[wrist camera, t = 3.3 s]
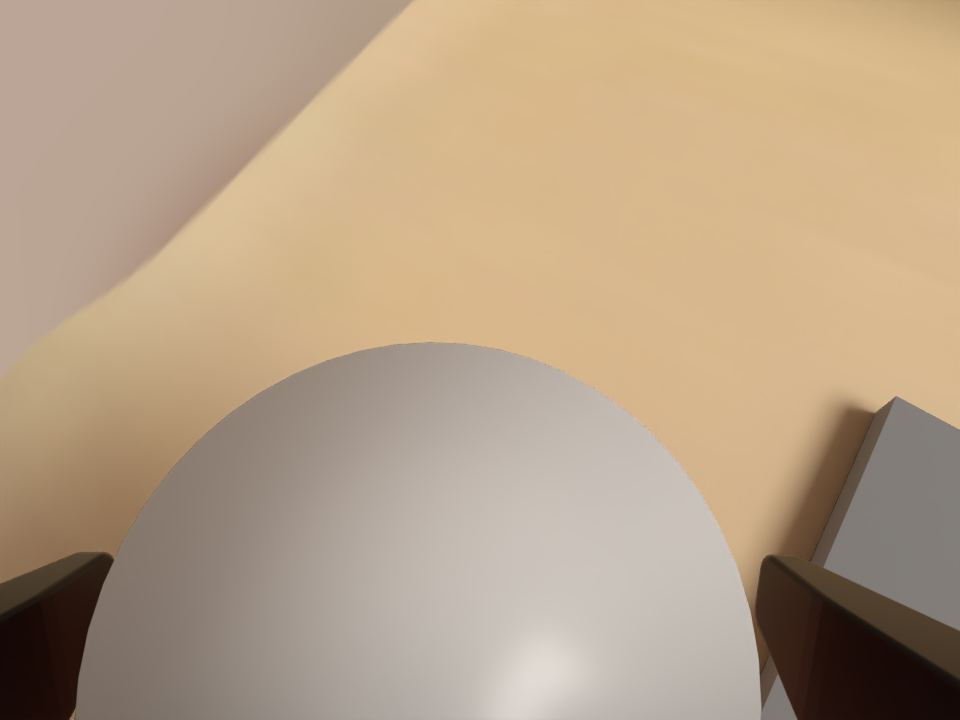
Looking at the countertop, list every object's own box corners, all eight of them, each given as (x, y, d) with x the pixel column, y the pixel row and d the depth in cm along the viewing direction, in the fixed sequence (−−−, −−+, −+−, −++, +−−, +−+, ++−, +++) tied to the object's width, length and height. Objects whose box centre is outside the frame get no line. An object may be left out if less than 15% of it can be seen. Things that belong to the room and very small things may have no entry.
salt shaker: (472, 903, 12) (513, 1399, 3) (287, 730, 14) (-78, 704, 4) (601, 673, 15) (859, 548, 5) (429, 543, 16) (386, 261, 7)
